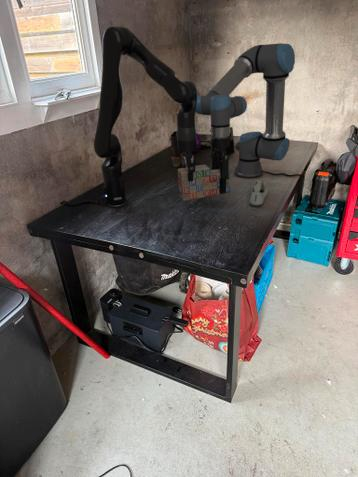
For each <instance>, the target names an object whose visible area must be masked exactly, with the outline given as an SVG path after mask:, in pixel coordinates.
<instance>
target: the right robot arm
mask: <svg viewBox="0 0 358 477" xmlns="http://www.w3.org/2000/svg"><path fill="white" fill-rule="evenodd" d="M234 60H235V61H234V62H233V66H231V68H230V69H228V71H227V72H226V73H225V74H224V75H223V76H222V77H221V78H220V79H219V80H218V81H217V83H216V84H215V85H214V86H213V87H212V88H211V89H210V90H209V91H208V92H207V93H206V94H205V95H199V96H198V95H197V104H196V110H195V114H198V115H203V116H210V129H209V132H210V136H212V138H211V143H210V144H211V147H212V148H211V147H210V148H211V154H212V158H211V170H216V169H220V178H221V179H219V180H220V194H219V195H224V193H225V194H227V193H226V179H229V172H230V170H229V169H230V168H229V165H230V164H229V163H230V162H229V161H230V155H226V148H227V147H229V144H230V138H229V137H228V136H230V127H231V119H233V118H236V117H240V116H242V115H243V114H244V113H246V111H247V108H248V102H247V100H246V98H245V97H243V96H242V95H235V96H230V95H231V94H232V93H233V92H234V91H235V89H236V88H238V86H239V85H240V84H241V83H242V82H243V81H244V80H245V79H247V78H249V77H250V76H251V75H253V74H262V79H263V80H264V81H265V83H266V84H265V85H266V88H265V130H264V131H263V135H262V132H261V131H249V132H244V133H242V134H240V136H239V141H238V142H239V150H238V162H237V165H236V166H234V169H235V170H234V174H235V176H236V177H239V178H243V179H255V178H259V177H261V176H262V175H263V174H268V175H272V176H280V175H281V176H286V177H301V178H305V177H304V175H302V174H300V173H295V174H287V173H285V172H278V173H274V172H270V171H265V170H263V169H262V165H261V159H264V160H271V161H278V162H279V161H282V160H283V159H285V157H286V155H287V153H288V152H289V148H290V143H291V142H290V138H288V137H286V135H287V133H286V132H285V131H284V115H285V114H284V113H285V92H286V80H287V79H288V78H289V77H290V74H291V73H292V72H293V70H294V68H295V65H296V64H295V63H296V55H295V50H294V48H293V46H292V45H291V44H290V43H282V42H279V43H269V44H257V45H254V46H252V47H250V48H248V49H246V50H244V52H243V53H240V55H239V56H238V57H236V59H234Z"/></svg>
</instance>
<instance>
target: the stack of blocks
mask: <svg viewBox="0 0 358 477" xmlns="http://www.w3.org/2000/svg"><path fill="white" fill-rule="evenodd" d="M191 169H192V167H191V168H190V170H191ZM219 179H221V178H220V169H216V170H212V169H211V168H210V167H209V166H208V165H206V164H200V165H195V172H193V181H191V182H189V181H188V172H187V168H184V167H182V168H177V183H178V192H179V193H178V194H179V195H178V196H179V197H180V198H181V200H182V201H183V202H184V201H190V200H191V201H192V200H196V199H203V198H207V197H212V196H217V195H218V196H219V195H221V194H220V180H219ZM229 193H231V172H230V171H229V179H226V193H224V194H229ZM224 194H223V195H224Z"/></svg>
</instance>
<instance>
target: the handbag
mask: <svg viewBox="0 0 358 477" xmlns="http://www.w3.org/2000/svg"><path fill="white" fill-rule="evenodd" d="M233 128H234V127H232V126H230V136H228V137H229V138H230V144H229V147H227V148H226V155H229V156H231V155H232V154H233V153H235V141H234V140H235V139H234V137H235V135H234V129H233ZM210 155H211V156H210V157H211V159H212V153H211V154H210Z"/></svg>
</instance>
